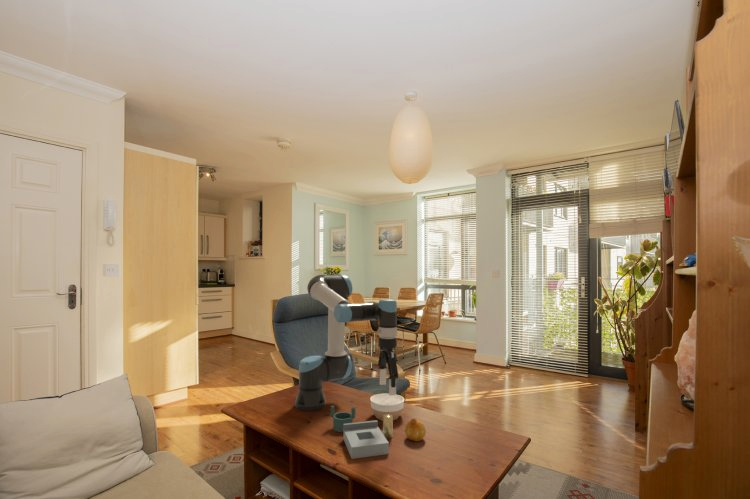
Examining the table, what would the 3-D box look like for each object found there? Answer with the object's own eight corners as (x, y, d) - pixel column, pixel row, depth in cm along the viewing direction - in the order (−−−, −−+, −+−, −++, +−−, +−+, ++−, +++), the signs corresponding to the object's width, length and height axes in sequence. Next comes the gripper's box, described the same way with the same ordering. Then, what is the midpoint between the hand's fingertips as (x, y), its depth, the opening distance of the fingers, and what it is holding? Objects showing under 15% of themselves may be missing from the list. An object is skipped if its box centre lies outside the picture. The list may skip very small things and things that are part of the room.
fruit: (398, 434, 149) (409, 418, 149) (404, 428, 157) (414, 412, 156) (415, 449, 146) (426, 432, 145) (421, 442, 154) (431, 426, 153)
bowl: (399, 425, 164) (399, 406, 164) (365, 420, 169) (365, 402, 169) (408, 412, 179) (408, 395, 179) (376, 407, 184) (376, 391, 184)
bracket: (356, 429, 160) (357, 407, 160) (337, 433, 155) (337, 411, 156) (347, 421, 167) (347, 401, 168) (328, 426, 163) (328, 404, 163)
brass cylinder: (381, 434, 154) (381, 414, 155) (390, 433, 156) (391, 413, 156) (384, 439, 151) (384, 418, 151) (393, 437, 152) (394, 417, 152)
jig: (343, 439, 150) (343, 423, 150) (377, 435, 154) (377, 420, 154) (351, 458, 135) (351, 441, 135) (388, 453, 139) (388, 437, 139)
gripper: (371, 332, 166) (370, 381, 165) (387, 343, 142) (387, 400, 141) (387, 331, 168) (387, 380, 167) (406, 342, 144) (406, 399, 143)
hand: (387, 389), depth 154 cm, fingers open, 13 cm apart
